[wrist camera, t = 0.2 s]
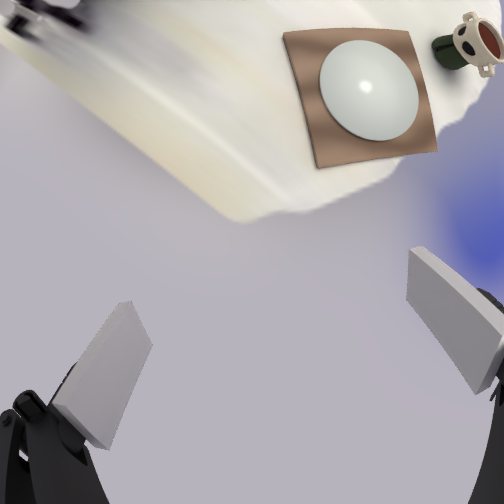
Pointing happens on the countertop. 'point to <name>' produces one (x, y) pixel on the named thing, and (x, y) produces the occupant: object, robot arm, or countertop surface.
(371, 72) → the saucer
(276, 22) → the countertop surface
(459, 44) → the character mug
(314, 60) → the stand
